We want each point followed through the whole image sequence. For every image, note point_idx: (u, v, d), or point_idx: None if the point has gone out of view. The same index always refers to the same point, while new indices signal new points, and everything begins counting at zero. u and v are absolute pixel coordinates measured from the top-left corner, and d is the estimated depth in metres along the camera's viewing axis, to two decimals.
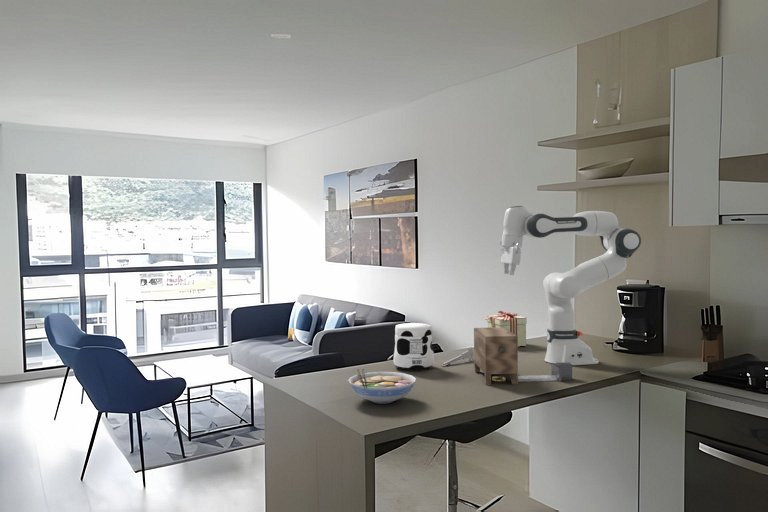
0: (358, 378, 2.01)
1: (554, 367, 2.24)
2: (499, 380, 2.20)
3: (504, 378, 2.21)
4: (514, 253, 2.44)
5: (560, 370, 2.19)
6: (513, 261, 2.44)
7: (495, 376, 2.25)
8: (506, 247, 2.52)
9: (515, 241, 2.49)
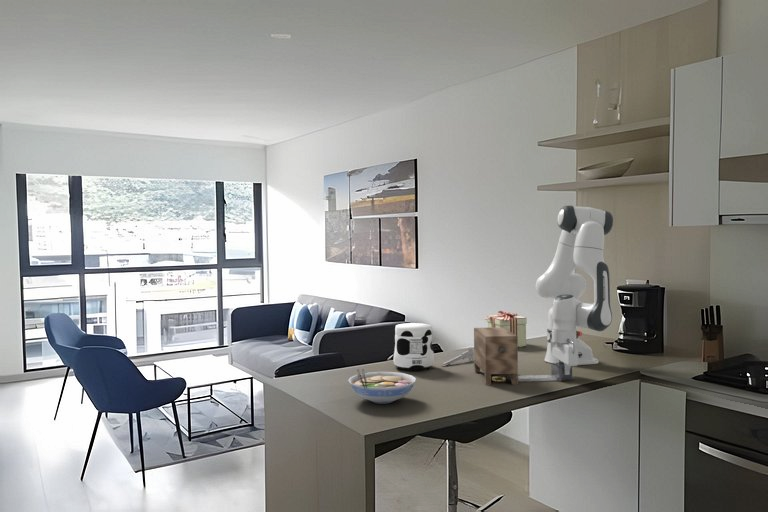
0: (358, 378, 2.01)
1: (554, 367, 2.24)
2: (499, 380, 2.20)
3: (504, 378, 2.21)
4: (570, 353, 2.14)
5: (560, 370, 2.19)
6: (570, 363, 2.13)
7: (495, 376, 2.25)
8: (559, 343, 2.22)
9: (569, 337, 2.19)
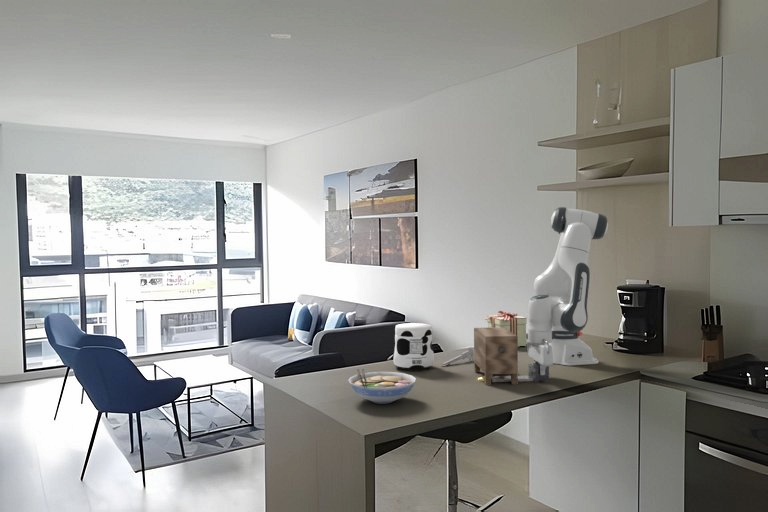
0: (358, 378, 2.01)
1: (531, 368, 2.24)
2: (484, 380, 2.20)
3: None
4: (545, 354, 2.13)
5: (536, 370, 2.18)
6: (545, 363, 2.13)
7: (481, 376, 2.25)
8: (534, 344, 2.21)
9: (544, 337, 2.18)
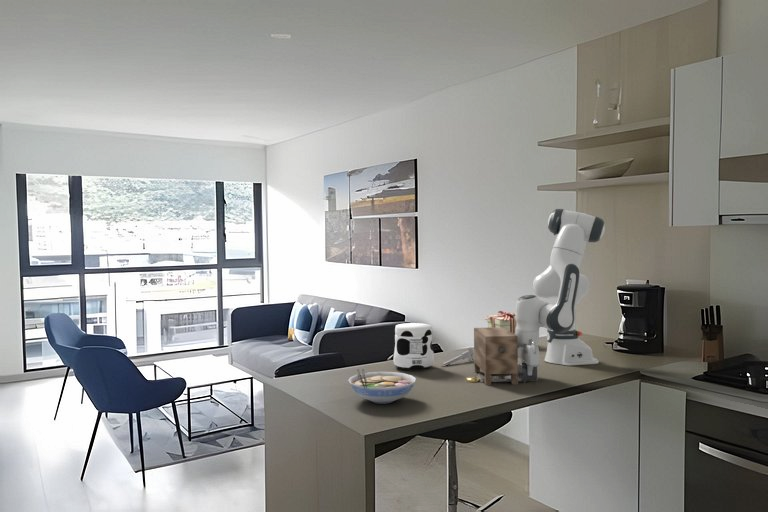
0: (358, 378, 2.01)
1: (519, 368, 2.24)
2: (473, 380, 2.20)
3: (478, 378, 2.21)
4: (532, 354, 2.13)
5: (524, 371, 2.18)
6: (532, 363, 2.13)
7: None
8: (521, 344, 2.21)
9: (531, 337, 2.18)
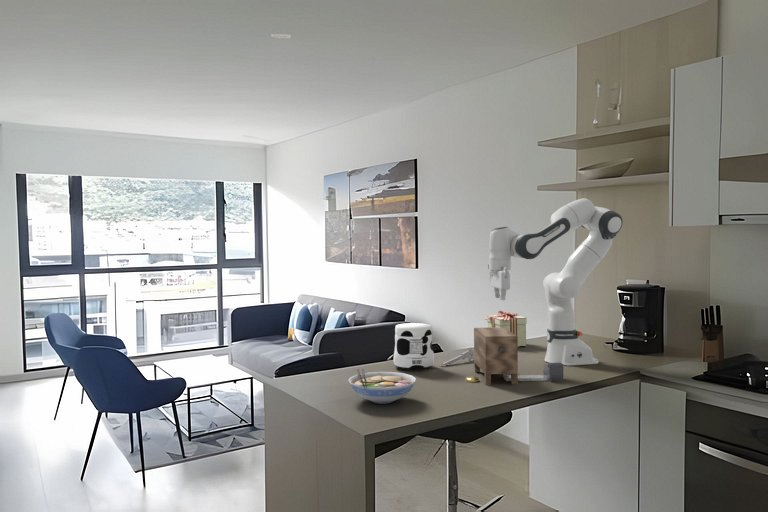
0: (358, 378, 2.01)
1: (546, 367, 2.24)
2: (474, 381, 2.20)
3: (478, 378, 2.21)
4: (503, 278, 2.32)
5: (550, 370, 2.19)
6: (503, 286, 2.32)
7: None
8: (494, 271, 2.40)
9: (503, 264, 2.38)
